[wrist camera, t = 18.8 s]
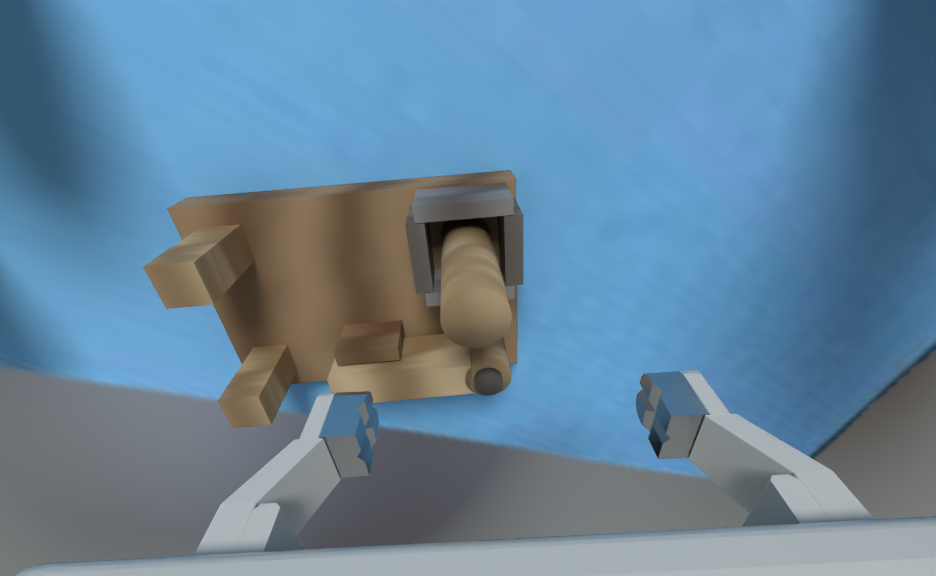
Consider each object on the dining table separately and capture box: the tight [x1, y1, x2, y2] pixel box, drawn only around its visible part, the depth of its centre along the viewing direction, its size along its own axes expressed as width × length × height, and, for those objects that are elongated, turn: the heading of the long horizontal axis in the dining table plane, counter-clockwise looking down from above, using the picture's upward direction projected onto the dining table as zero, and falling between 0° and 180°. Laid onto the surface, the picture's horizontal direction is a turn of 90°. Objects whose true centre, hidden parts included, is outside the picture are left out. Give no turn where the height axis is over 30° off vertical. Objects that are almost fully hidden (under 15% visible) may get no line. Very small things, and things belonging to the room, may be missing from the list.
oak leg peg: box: [440, 218, 512, 348], centre depth 20 cm, size 3×3×9 cm
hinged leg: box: [327, 334, 511, 403], centre depth 26 cm, size 12×3×4 cm, turn 95°
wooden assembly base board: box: [143, 170, 523, 428], centre depth 25 cm, size 20×14×7 cm
